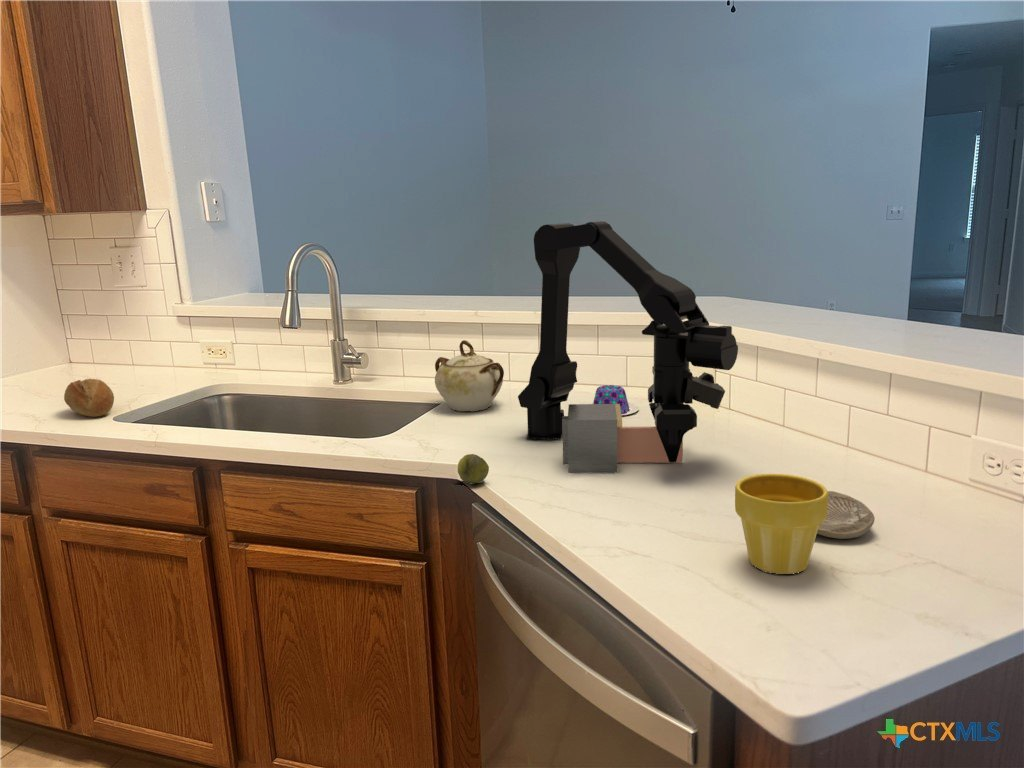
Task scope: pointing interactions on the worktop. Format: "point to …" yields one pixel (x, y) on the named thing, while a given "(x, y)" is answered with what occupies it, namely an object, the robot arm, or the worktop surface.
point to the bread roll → (89, 397)
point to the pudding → (614, 398)
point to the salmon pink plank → (641, 445)
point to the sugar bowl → (468, 380)
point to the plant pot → (780, 519)
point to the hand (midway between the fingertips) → (670, 454)
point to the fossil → (845, 517)
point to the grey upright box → (591, 438)
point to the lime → (472, 468)
